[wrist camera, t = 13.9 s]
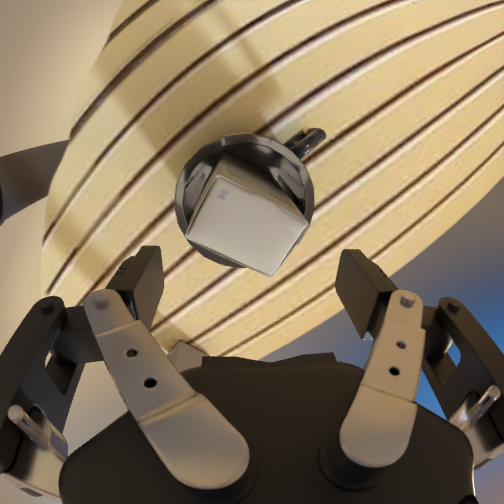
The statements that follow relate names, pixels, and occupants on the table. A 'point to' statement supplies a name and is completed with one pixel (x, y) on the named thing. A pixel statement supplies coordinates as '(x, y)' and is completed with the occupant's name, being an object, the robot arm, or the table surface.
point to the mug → (259, 156)
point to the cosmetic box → (246, 217)
